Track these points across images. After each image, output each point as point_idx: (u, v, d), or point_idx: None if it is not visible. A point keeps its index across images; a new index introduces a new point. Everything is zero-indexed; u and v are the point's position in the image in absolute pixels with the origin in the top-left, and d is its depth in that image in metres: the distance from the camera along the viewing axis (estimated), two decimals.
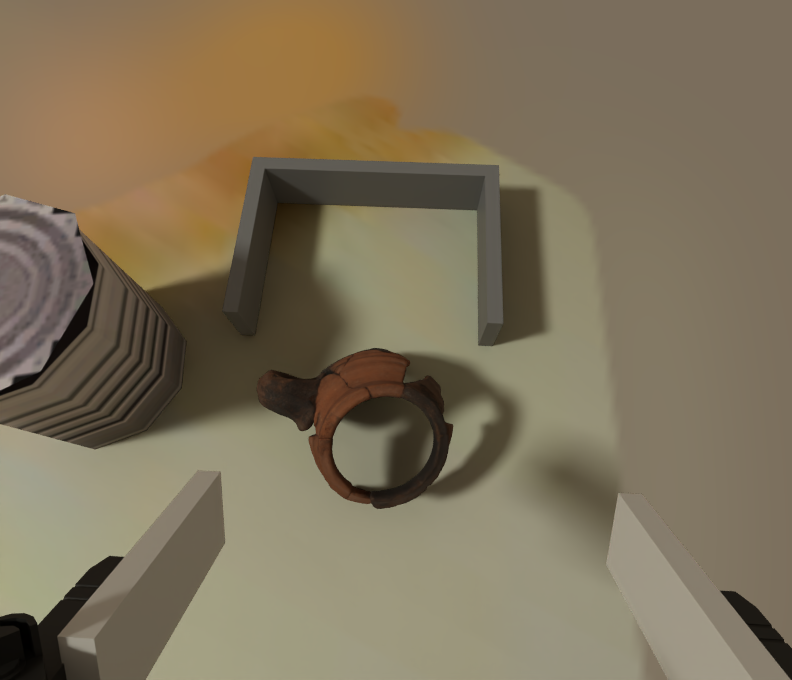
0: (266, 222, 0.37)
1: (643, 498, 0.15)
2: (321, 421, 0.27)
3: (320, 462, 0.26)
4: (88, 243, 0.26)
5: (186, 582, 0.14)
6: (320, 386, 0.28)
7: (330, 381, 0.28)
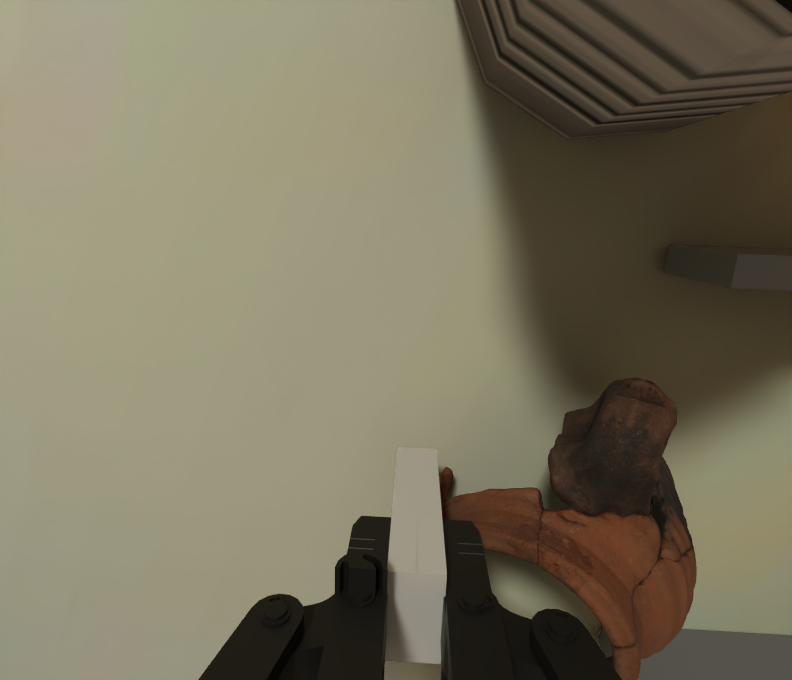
0: None
1: (435, 452, 0.18)
2: (567, 533, 0.15)
3: (493, 533, 0.15)
4: None
5: None
6: (636, 520, 0.15)
7: (646, 543, 0.15)
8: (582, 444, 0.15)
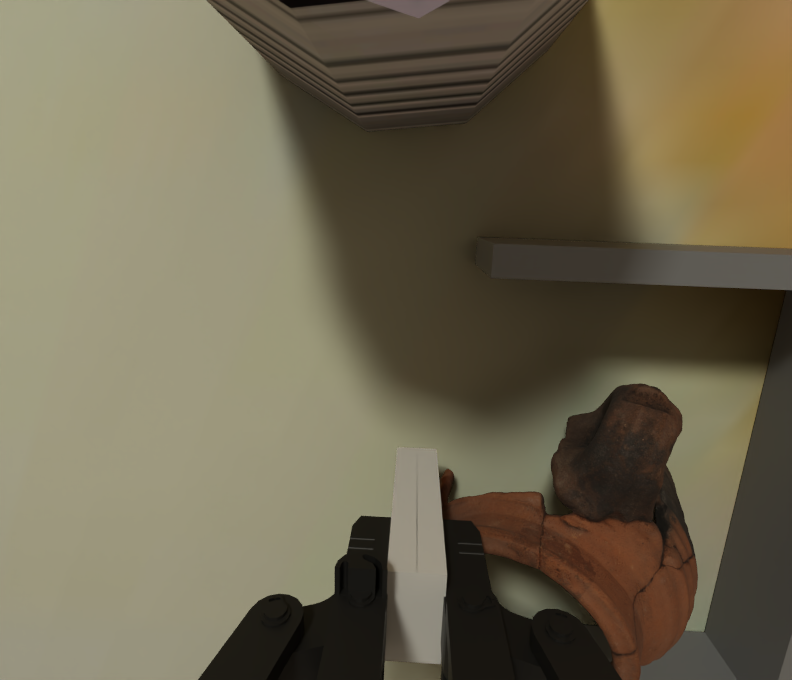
0: None
1: (435, 452, 0.18)
2: (569, 538, 0.15)
3: (494, 537, 0.15)
4: None
5: None
6: (639, 526, 0.15)
7: (649, 551, 0.14)
8: (586, 449, 0.15)
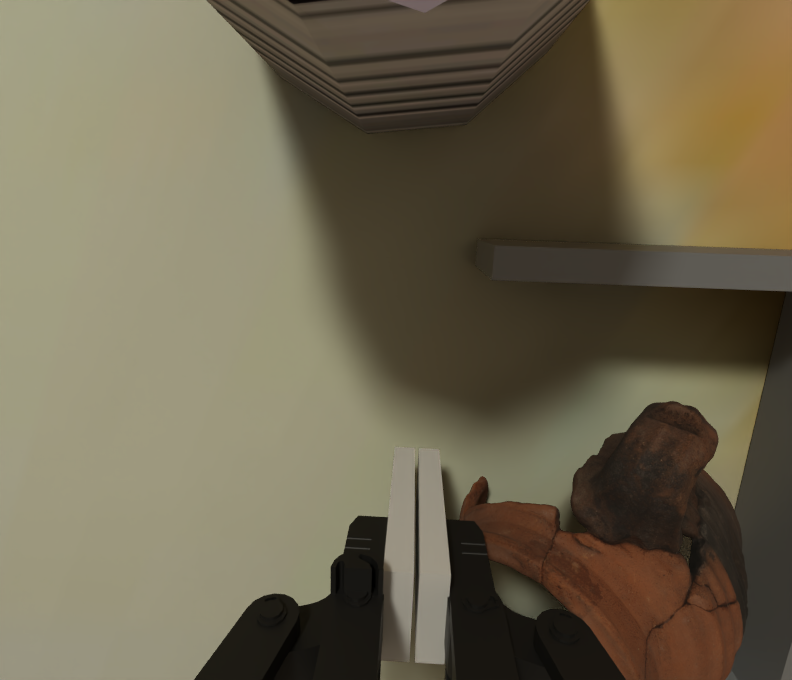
0: None
1: (437, 452, 0.18)
2: (579, 558, 0.14)
3: (501, 545, 0.14)
4: None
5: None
6: (661, 556, 0.13)
7: (670, 584, 0.13)
8: (604, 466, 0.14)
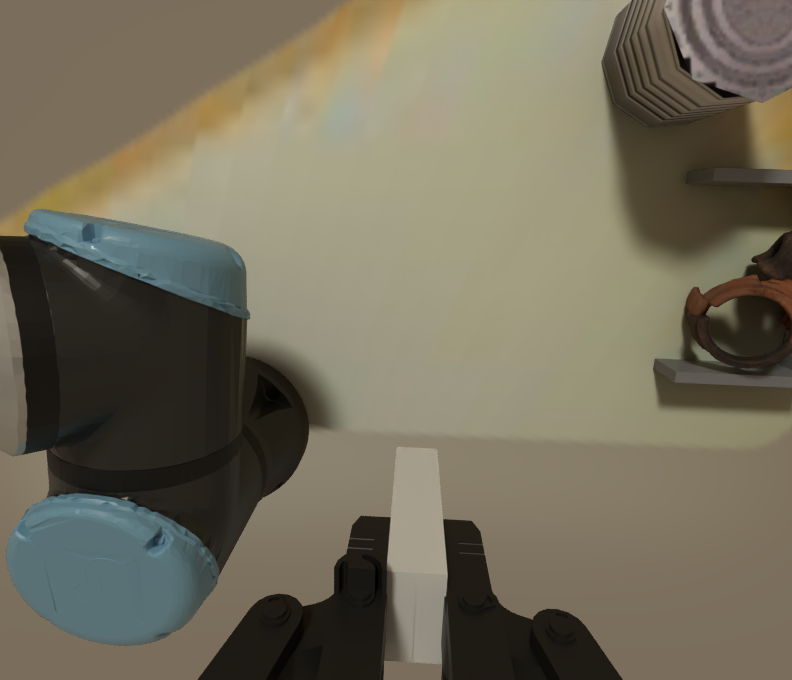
0: None
1: (435, 452, 0.18)
2: (772, 286, 0.39)
3: (743, 288, 0.39)
4: None
5: None
6: None
7: None
8: (776, 254, 0.39)
